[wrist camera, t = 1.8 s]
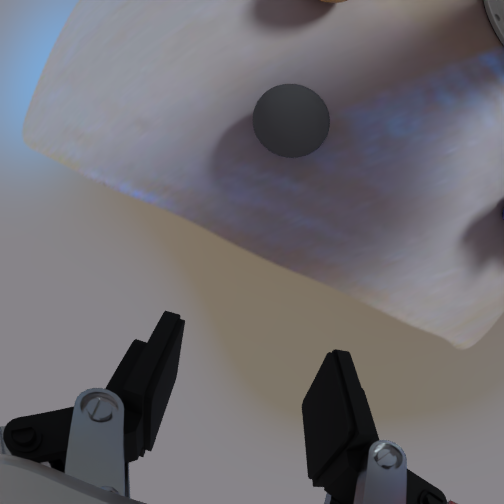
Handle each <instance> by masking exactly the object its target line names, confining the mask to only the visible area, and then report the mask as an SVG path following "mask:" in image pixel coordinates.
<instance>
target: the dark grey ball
mask: <svg viewBox="0 0 504 504" xmlns="http://www.w3.org/2000/svg"><path fill="white" fill-rule="evenodd" d="M329 124H330V119H329V113H328V110H327V107H326V105H325V103H324V102H323V100H322V99H321V98H320V96H319V95H318V94H316V93H315V92H314V91H312V90H311V89H309V88H307V87H305V86H302V85H297V84H283V85H279V86H276V87H274V88H271V89H270V90H268V91H267V92H266V93H264V94H263V95H262V97H261V98H260V99H259V101H258V102H257V104H256V106H255V109H254V113H253V127H254V131H255V133H256V136H257V138H258V139H259V141H260V142H261V143H262V144H263V146H264V147H266V148H267V149H268V150H269V151H271V152H272V153H275V154H277V155H279V156H283V157H290V158H294V157H302V156H305V155H308V154H310V153H312V152H313V151H315V150H316V149H317V148H318V147H319V146H320V145H321V144H322V143H323V142H324V140H325V138H326V136H327V134H328V131H329Z"/></svg>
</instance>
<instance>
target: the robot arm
mask: <svg viewBox="0 0 504 504" xmlns="http://www.w3.org/2000/svg"><path fill="white" fill-rule="evenodd" d="M484 5H485V9H486V12H487V15H488V18H489V20H490V22H491V24H492V27H493V29H494V31H495V32H496V34H497V36H498V38H499V39H500V41H501V42H502V44H503V45H504V0H484ZM184 325H185V320H182V319H180V315H179V314H175V313H172V312H168V311H165V312H164V313H163V315H162V317H161V319H160V320H159V322H158V324H157V326H156V328H155V329H154V331H153V333H152V335H151V337H150V339H149V341H148V342H147V343H146V342H143V341H140V340H137V339H135V340H134V341H133V342H132V344H131V346H130V347H129V349H128V351H127V352H126V354H125V356H124V357H123V359H122V361H121V362H120V364H119V366H118V368H117V369H116V371H115V373H114V375H113V376H112V378H111V380H110V382H109V383H108V385H107V387H106V389H103V388H92V389H87V390H86V391H84V392H82V393H81V394H80V395H79V396H78V397H77V399H76V401H75V405H74V407H70V408H65V409H61V410H56V411H51V412H46V413H41V414H36V415H30V416H24V417H19V418H16V419H13V420H11V421H10V422H9V423H8V424H7V425H6V426H4V427H3V426H2V427H0V504H146V503H143V502H140V501H136V500H133V499H130V484H129V483H130V482H129V462H132V461H135V460H137V459H138V457H139V456H141V457H143V456H144V453H145V450H148V451H151V450H152V448H153V445H154V442H155V439H156V435H157V433H158V430H159V427H160V424H161V421H162V418H163V415H164V412H165V409H166V406H167V404H168V400H169V398H170V395H171V392H172V389H173V386H174V383H175V380H176V376H177V371H178V364H179V357H180V350H181V344H182V337H183V331H184ZM302 414H303V424H304V435H305V446H306V458H307V469H308V477H309V479H312V480H313V486H314V487H324V490H325V491H326V492H327V494H326V498H325V502H324V504H457V503H455V502H453V501H451V500H450V501H449V502H447V500H446V497H445V495H444V494H443V492H442V491H440V490H439V489H438V488H436V487H434V486H433V485H431V484H430V483H428V482H427V481H425V480H424V479H422V478H421V477H419V476H417V475H416V474H414V473H413V472H411V471H410V470H408V469H407V459H406V455H405V453H404V451H403V450H402V448H401V447H400V446H398V445H397V444H396V443H394V442H391V441H389V440H379V438H378V434H377V431H376V427H375V424H374V421H373V418H372V415H371V411H370V408H369V405H368V402H367V398H366V395H365V392H364V390H363V389H362V388H361V385H360V382H359V379H358V376H357V373H356V370H355V367H354V364H353V361H352V358H351V355H350V353H349V352H347V351H342V350H333V351H332V353H331V352H329V353H327V355H326V357H325V359H324V361H323V364H322V365H321V367H320V369H319V371H318V373H317V375H316V377H315V379H314V381H313V383H312V385H311V387H310V389H309V391H308V392H307V394H306V396H305V398H304V400H303V404H302Z"/></svg>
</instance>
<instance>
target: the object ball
mask: <svg viewBox="0 0 504 504" xmlns="http://www.w3.org/2000/svg"><path fill="white" fill-rule="evenodd" d="M320 1H324V2H329V3H339V2H344V1H347V0H320Z"/></svg>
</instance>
